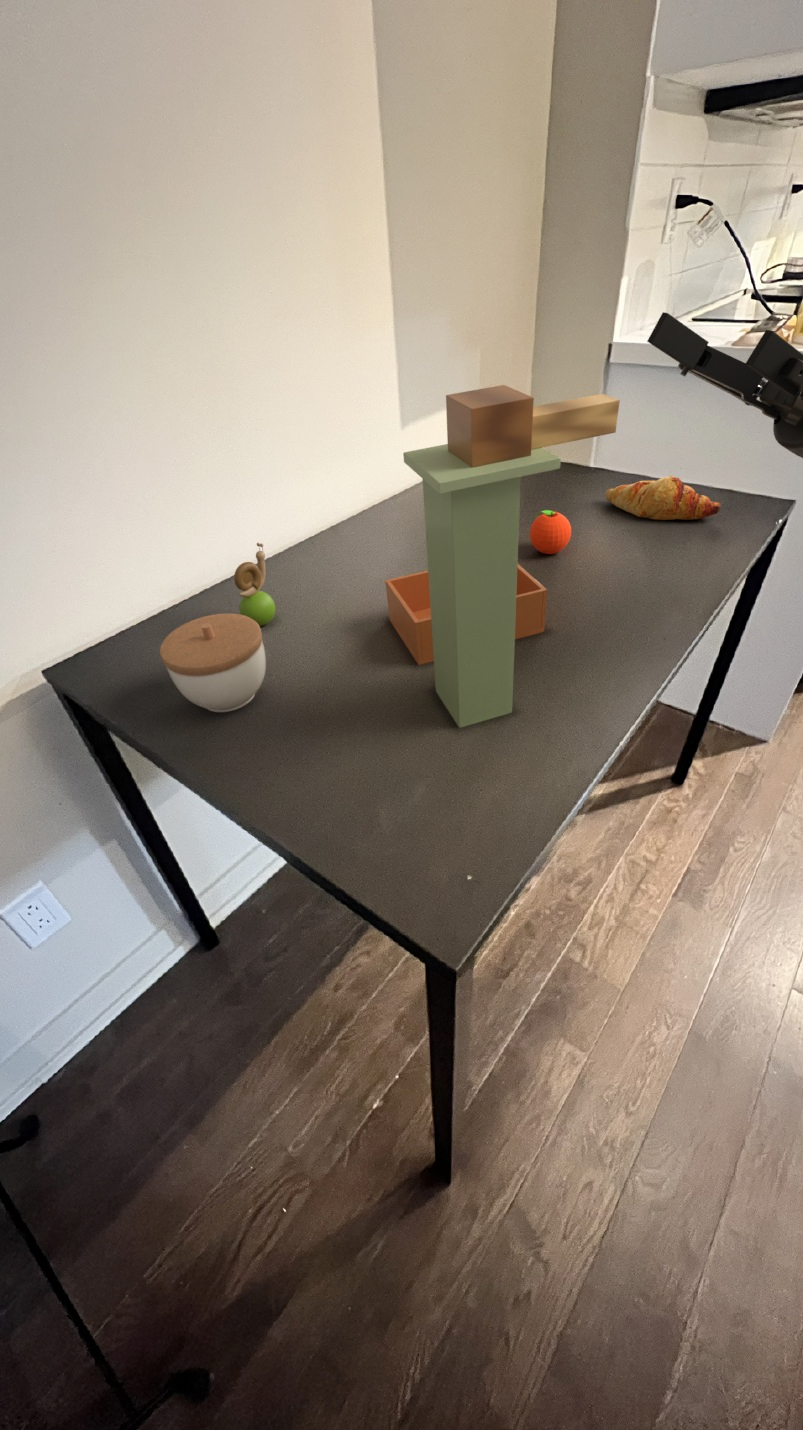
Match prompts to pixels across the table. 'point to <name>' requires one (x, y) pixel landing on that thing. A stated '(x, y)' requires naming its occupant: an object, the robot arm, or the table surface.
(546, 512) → the clementine
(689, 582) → the table surface
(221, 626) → the lidded bowl
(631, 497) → the croissant
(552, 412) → the mallet
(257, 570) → the snail figurine
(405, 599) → the open box
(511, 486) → the shelf stand
